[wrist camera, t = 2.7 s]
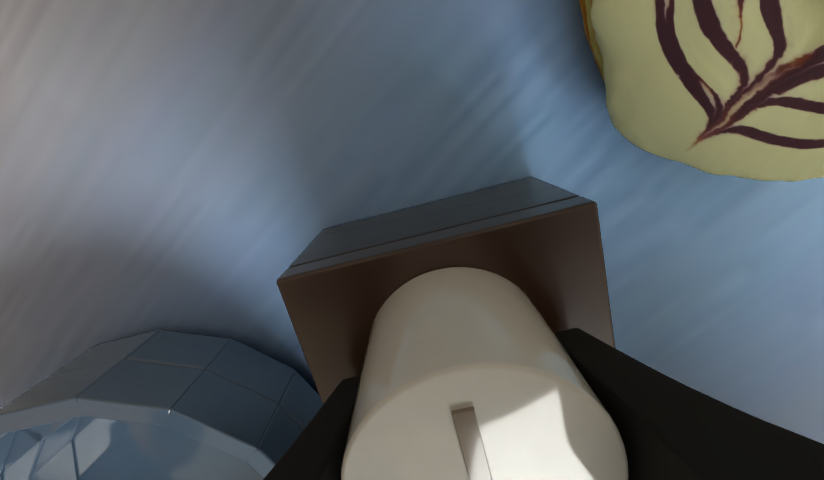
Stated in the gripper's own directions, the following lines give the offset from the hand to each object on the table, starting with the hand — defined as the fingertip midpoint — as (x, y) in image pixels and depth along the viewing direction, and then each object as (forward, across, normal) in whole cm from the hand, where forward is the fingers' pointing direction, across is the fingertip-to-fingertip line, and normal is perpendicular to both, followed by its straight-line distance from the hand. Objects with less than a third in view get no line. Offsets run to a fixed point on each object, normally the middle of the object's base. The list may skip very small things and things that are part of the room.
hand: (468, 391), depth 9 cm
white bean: (0, 0, 0) cm, 0 cm away
